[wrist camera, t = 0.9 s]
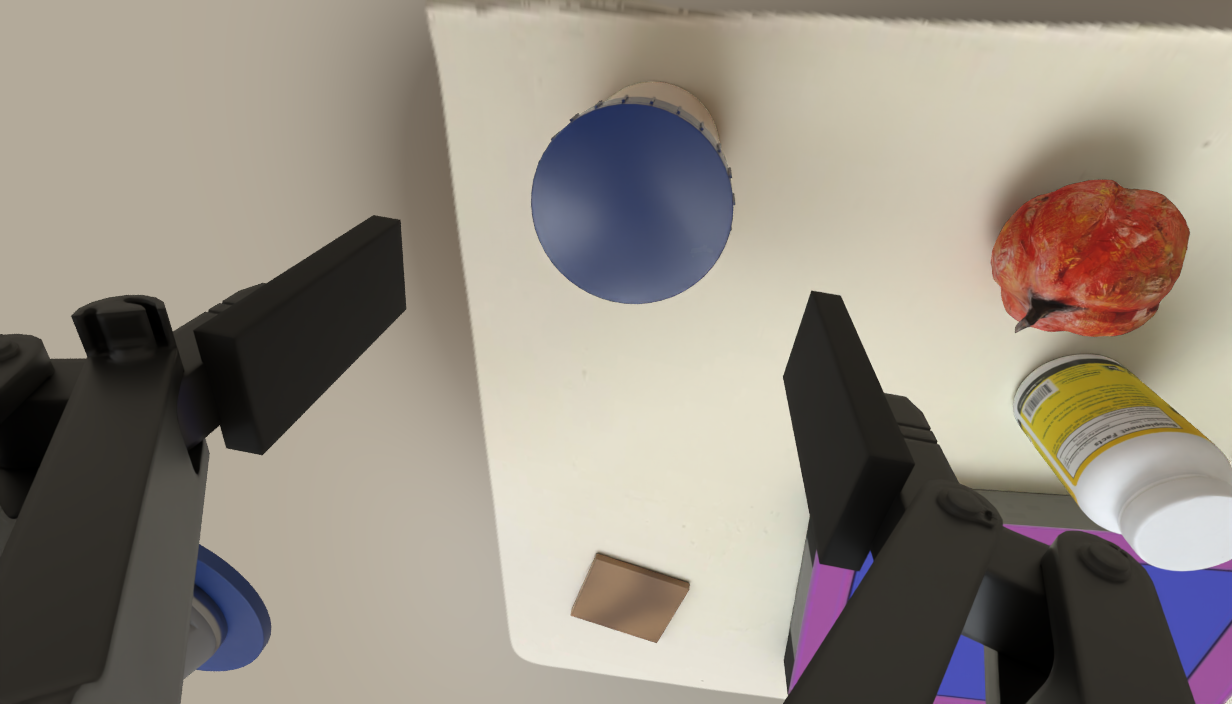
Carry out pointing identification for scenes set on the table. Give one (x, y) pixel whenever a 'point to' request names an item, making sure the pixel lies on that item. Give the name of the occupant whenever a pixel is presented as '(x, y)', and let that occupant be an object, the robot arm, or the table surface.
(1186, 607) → the book
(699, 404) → the table surface
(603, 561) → the cork mat
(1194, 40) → the table surface
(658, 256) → the lid
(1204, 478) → the pill bottle
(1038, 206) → the pomegranate
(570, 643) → the table surface
